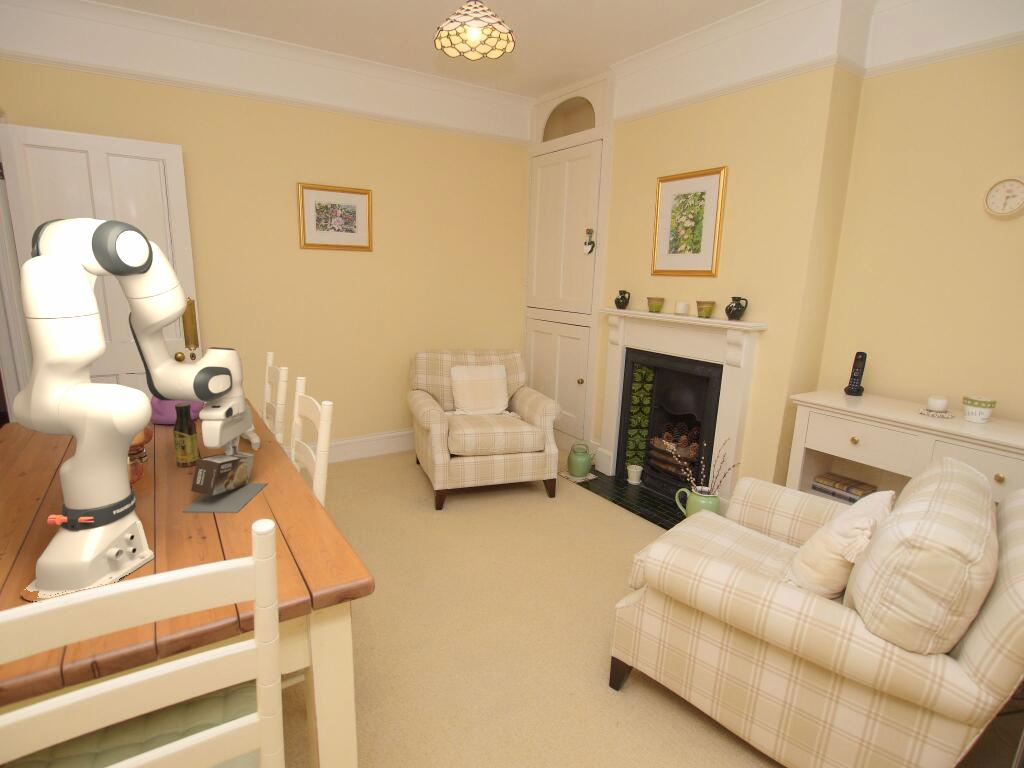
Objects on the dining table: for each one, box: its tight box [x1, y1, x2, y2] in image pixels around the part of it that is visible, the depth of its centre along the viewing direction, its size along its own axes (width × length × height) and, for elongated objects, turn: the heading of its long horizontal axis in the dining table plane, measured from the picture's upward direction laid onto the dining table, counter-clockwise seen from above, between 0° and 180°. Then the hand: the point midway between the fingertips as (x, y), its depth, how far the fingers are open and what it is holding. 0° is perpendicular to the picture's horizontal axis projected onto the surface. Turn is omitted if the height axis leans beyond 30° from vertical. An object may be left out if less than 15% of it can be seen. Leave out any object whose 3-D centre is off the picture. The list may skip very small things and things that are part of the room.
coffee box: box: [190, 450, 255, 496], centre depth 144 cm, size 9×6×16 cm
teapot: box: [150, 395, 205, 425], centre depth 208 cm, size 23×21×15 cm
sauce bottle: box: [172, 403, 200, 468], centre depth 164 cm, size 7×6×20 cm
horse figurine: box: [240, 422, 261, 450], centre depth 188 cm, size 5×16×25 cm
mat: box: [182, 482, 268, 514], centre depth 144 cm, size 18×14×1 cm
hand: (232, 453), depth 146 cm, fingers closed
